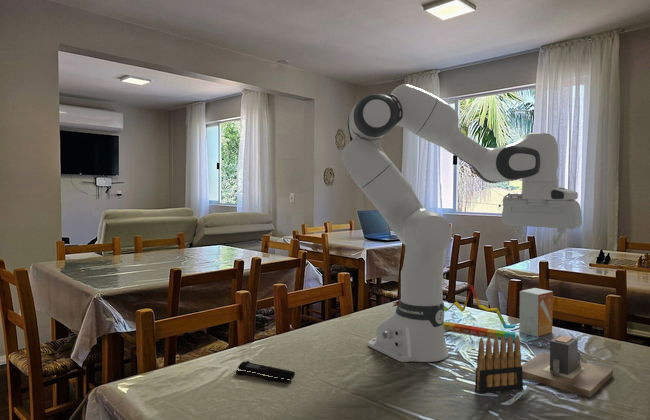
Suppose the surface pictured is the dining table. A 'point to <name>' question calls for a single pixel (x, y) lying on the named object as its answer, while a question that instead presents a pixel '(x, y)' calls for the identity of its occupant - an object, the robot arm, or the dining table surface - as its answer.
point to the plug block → (564, 353)
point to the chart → (478, 330)
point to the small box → (536, 312)
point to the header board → (578, 382)
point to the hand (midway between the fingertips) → (539, 243)
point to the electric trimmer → (265, 371)
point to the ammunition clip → (499, 366)
